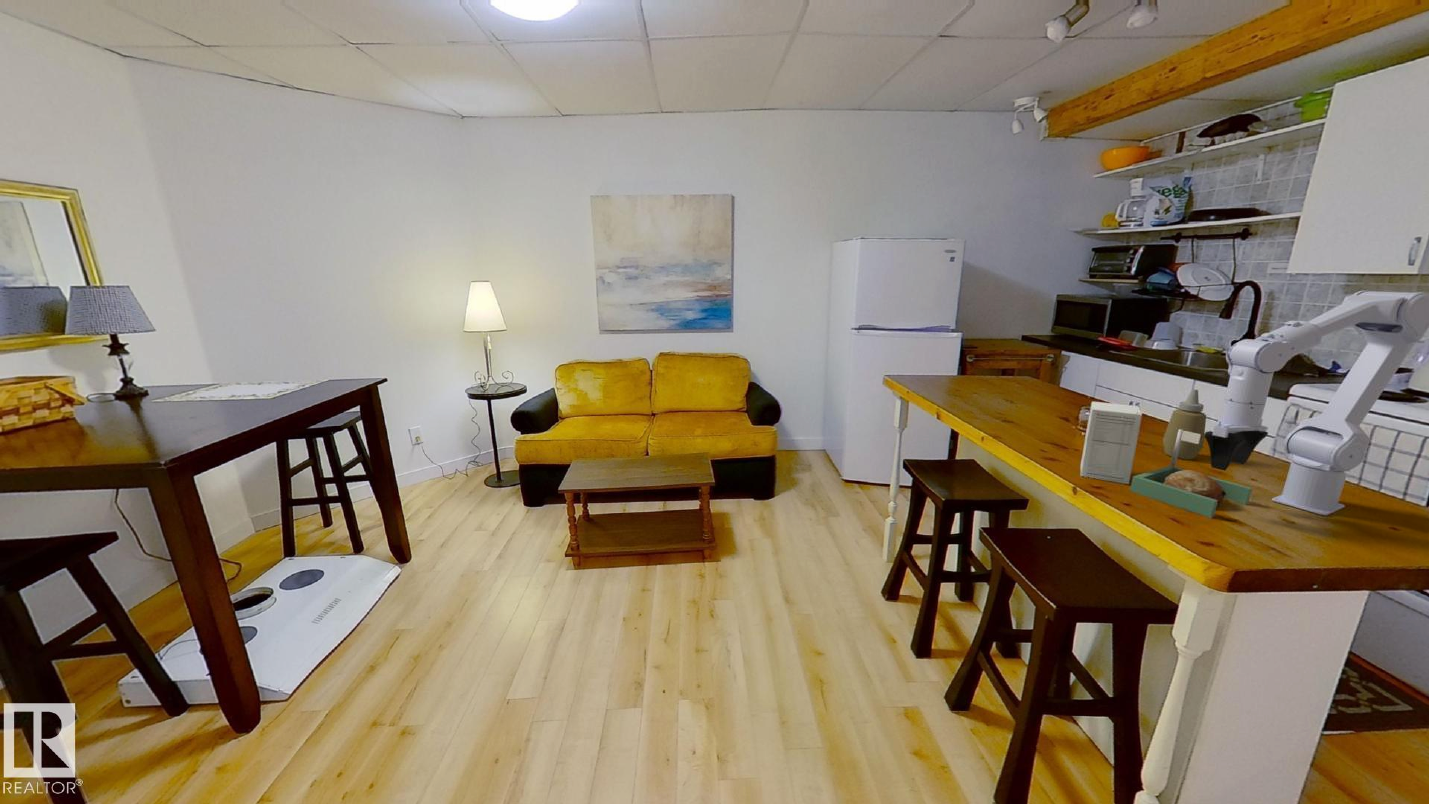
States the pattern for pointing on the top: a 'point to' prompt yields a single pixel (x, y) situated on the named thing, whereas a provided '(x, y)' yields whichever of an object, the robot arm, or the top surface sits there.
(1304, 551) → the top surface
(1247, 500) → the teal shallow tray
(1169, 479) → the bread roll
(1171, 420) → the squeeze bottle
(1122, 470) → the supplement box
